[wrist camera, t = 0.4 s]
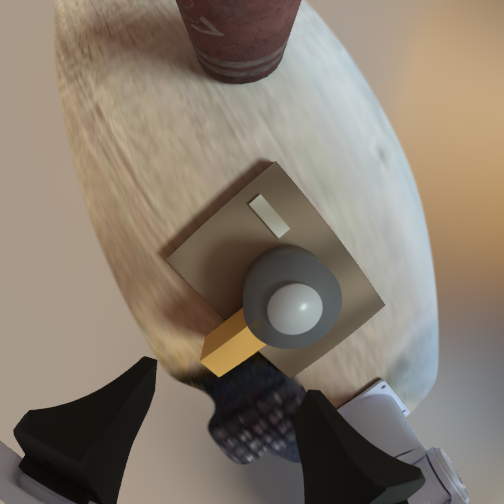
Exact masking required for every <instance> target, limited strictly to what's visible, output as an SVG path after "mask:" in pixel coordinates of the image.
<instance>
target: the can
mask: <svg viewBox="0 0 504 504" xmlns="http://www.w3.org/2000/svg"><path fill="white" fill-rule="evenodd" d="M176 3H177V5H178V8H179V10H180V13H181V15H182V18H183V21H184V23H185V26H186V28H187V31H188V34H189V36H190V39H191V41H192V44H193V47H194V49H195V52H196V55H197V57H198V60H199V62H200V64H201V65H202V67H203V69H204V70H205V71H206V72H207V73H208V74H210V75H211V76H212V77H214V78H215V79H218V80H221V81H224V82H226V83H236V84H244V83H251V82H256V81H258V80H260V79H263V78H265V77H267V76H268V75H269V74H271V73H272V72H273V71H274V70H275V69H276V68H277V67H278V65H279V63H280V61H281V60H282V57H283V54H284V51H285V48H286V45H287V41H288V38H289V35H290V32H291V29H292V26H293V23H294V21H295V18H296V15H297V12H298V9H299V6H300V3H301V0H176Z"/></svg>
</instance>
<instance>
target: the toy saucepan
mask: <svg viewBox="0 0 504 504" xmlns="http://www.w3.org/2000/svg"><path fill="white" fill-rule="evenodd" d="M341 307H342V292H341V288H340V285H339V283H338V280H337V279H336V277H335V276H334V274H333V273H332V272H331V271H330V270H329V269H328V268H327V267H326V266H325V265H324V264H323V263H322V262H321V261H320V260H319V259H318V258H317V257H316V256H315V255H314V254H313V253H312V252H310V251H308V250H306V249H304V248H301V247H297V246H279V247H275V248H272V249H269V250H267V251H266V252H264V253H262V254H261V255H260V256H258V257H257V258H256V259H255V260H254V261H253V262H252V264H251V265H250V267H249V268H248V270H247V272H246V275H245V278H244V283H243V308H241V309H240V310H239V311H238V312H236V313H235V314H234V315H233V316H231V317H230V318H229V319H227V320H226V321H225V322H224V323H222V324H221V325H220V326H219V327H217V328H216V329H215V330H213V331H212V332H211V333H209V334H208V335H207V336H206V337H205V341H204V345H203V349H202V354H201V358H200V362H201V363H202V364H204V365H205V366H206V367H207V368H208V369H210V370H211V371H212V372H213V373H214V374H216V375H217V376H218V377H220V376H222V375H223V374H225V373H226V372H228V371H229V370H231V369H232V368H234V367H235V366H237V365H238V364H240V363H241V362H243V361H244V360H246V359H247V358H248V357H250V356H251V355H253V354H254V353H256V352H257V351H258V350H260V349H261V348H263V347H264V346H265V345H269V346H272V347H275V348H280V349H297V348H302V347H305V346H308V345H311V344H313V343H315V342H316V341H318V340H320V339H321V338H322V337H324V336H325V335H326V334H327V333H328V332H329V331H330V330H331V329H332V327H333V326H334V325H335V323H336V321H337V319H338V317H339V315H340V311H341Z"/></svg>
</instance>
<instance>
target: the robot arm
mask: <svg viewBox="0 0 504 504" xmlns="http://www.w3.org/2000/svg"><path fill="white" fill-rule="evenodd" d="M156 370H157V360H156V359H152V358H149V357H146V356H145V357H142V358H141V359H140V360H139V361H138V362H137V363H136V364H134V365H133V366H132V367H131V368H130V369H128V371H126V372H125V373H123V374H122V375H120V376H119V377H118V378H116V379H115V380H113V381H112V382H110V383H109V384H108V385H106V386H104V387H102V388H101V389H99V390H97V391H95V392H93V393H91V394H89V395H87V396H85V397H82V398H80V399H78V400H75V401H72V402H69V403H66V404H62V405H59V406H55V407H51V408H45V409H37V410H29V411H28V412H27V413H26V414H25V415H24V416H23V418H22V419H21V420H20V422H19V423H18V424H17V426H16V427H15V428H14V430H13V432H14V436H15V438H16V440H17V442H18V443H19V445H20V446H21V448H22V450H23V451H24V453H25V456H24V457H23V459H22V458H21V457H20V456H19V455H18V454H17V453H15V452H14V451H12V450H11V449H10V448H9V447H7V446H6V445H5V444H4V443H2V442H1V441H0V499H1V500H2V501H3V502H4V503H5V504H117V499H118V494H119V490H120V486H121V482H122V478H123V474H124V470H125V467H126V463H127V460H128V456H129V453H130V450H131V447H132V444H133V441H134V440H135V437H136V435H137V433H138V431H139V429H140V427H141V425H142V422H143V420H144V418H145V416H146V414H147V412H148V410H149V407H150V404H151V401H152V398H153V395H154V392H155V382H156ZM408 414H409V410H408V409H407V407H406V406H405V405H404V404H403V402H402V401H401V400H400V399H399V397H398V396H397V395H396V394H395V392H394V391H393V390H392V389H391V387H390V386H389V385H388V384H387V383H386V381H385V380H384V379H381V380H379V381H377V382H376V383H375V384H373V385H372V386H371V387H369V388H368V389H366V390H365V391H364V392H362V393H361V394H359V395H358V396H357V397H355V398H354V399H352V400H351V401H349V402H348V403H346V404H345V405H343V406H342V407H340V408H339V409H337V410H336V409H335V407H334V406H333V405H332V404H331V403H330V402H329V400H328V399H327V398H326V397H325V396H324V394H323V393H322V392H321V391H320V390H309V389H308V391H307V393H306V395H305V397H304V399H303V401H302V403H301V405H300V407H299V409H298V411H297V413H296V414H295V416H294V420H295V435H296V440H297V445H298V450H299V455H300V460H301V464H302V469H303V477H304V495H305V504H469V493H468V491H467V489H466V488H465V486H464V483H463V481H462V478H461V477H460V475H459V473H458V471H457V470H456V468H455V466H454V465H453V463H452V462H451V460H450V459H449V458H448V456H447V455H446V454H445V452H444V451H443V450H442V449H441V448H434V447H432V448H431V449H429V450H428V451H427V450H426V449H425V448H424V446H423V445H422V443H421V441H420V440H419V438H418V436H417V435H416V433H415V431H414V430H413V428H412V426H411V425H410V423H409V422H408V420H407V418H406V416H407V415H408Z"/></svg>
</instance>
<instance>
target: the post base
mask: <svg viewBox="0 0 504 504" xmlns="http://www.w3.org/2000/svg"><path fill="white" fill-rule="evenodd" d="M279 246H297V247H301V248H304V249H306V250H308V251H310V252H312V253H313V254H314V255H315V256H316V257H317V258H318V259H319V260H320V261H321V262H322V263H323V264H324V265H325V266H326V267H327V268H328V269H329V270H330V271H331V272H332V273H333V274H334V276H335V277H336V279H337V280H338V283H339V285H340V288H341V292H342V307H341V311H340V315H339V317H338V319H337V321H336V323H335V325H334V326H333V327H332V329H331V330H330V331H329V332H328V333H327V334H326V335H325V336H324V337H322V338H321V339H320V340H318V341H316V342H315V343H313V344H311V345H308V346H305V347H302V348H297V349H280V348H275V347H272V346H269V345H265V346H264V347H263V348H261V349H260V350H258V351H259V352H260V353H261V354H262V355H263V356H265V357H266V358H267V359H268V360H269V361H270V362H271V363H272V364H274V365H275V366H276V367H277V368H278V369H279V370H281V371H282V372H283V373H284V374H285V375H286V376H287V377H289V378H292V377H293V376H295V375H296V374H298V373H299V372H301V371H302V370H303V369H305V368H306V367H308V366H309V365H311V364H312V363H313V362H315V361H316V360H318V359H319V358H320V357H322V356H323V355H324V354H326V353H327V352H328V351H330V350H331V349H332V348H334V347H335V346H336V345H338V344H339V343H340V342H342V341H343V340H344V339H345V338H347V337H348V336H349V335H351V334H352V333H353V332H354V331H355V330H357V329H358V328H359V327H360V326H362V325H363V324H364V323H365V322H366V321H368V320H369V319H370V318H371V317H372V316H373V315H375V314H376V313H377V312H378V311H379V310H380V309H381V308H383V307H384V306H385V304H384V302H383V301H382V299H381V298H380V296H379V295H378V293H377V292H376V290H375V289H374V287H373V286H372V284H371V283H370V282H369V280H368V279H367V277H366V276H365V274H364V273H363V271H362V270H361V269H360V267H359V266H358V264H357V263H356V262H355V260H354V259H353V257H352V256H351V255H350V253H349V252H348V251H347V249H346V248H345V247H344V245H343V244H342V242H341V241H340V240H339V238H338V237H337V236H336V234H335V233H334V232H333V231H332V229H331V228H330V227H329V225H328V224H327V223H326V221H325V220H324V219H323V218H322V216H321V215H320V214H319V212H318V211H317V210H316V209H315V207H314V206H313V205H312V204H311V202H310V201H309V200H308V199H307V198H306V196H305V195H304V194H303V193H302V191H301V190H300V189H299V188H298V187H297V185H296V184H295V183H294V182H293V181H292V179H291V178H290V177H289V176H288V175H287V174H286V172H285V171H284V170H283V169H282V168H281V167H280V165H279V164H278V163H277V162H276V161H275V162H274V163H273V164H271V165H270V166H269V167H268V168H267V169H266V170H264V171H263V172H262V173H261V174H260V175H258V176H257V177H256V178H255V179H254V180H253V181H251V182H250V183H249V184H248V185H247V186H246V187H244V188H243V189H242V190H241V191H240V192H239V193H238V194H236V195H235V196H234V197H233V198H232V199H231V200H230V201H228V202H227V203H226V204H225V205H224V206H223V207H222V208H221V209H220V210H218V211H217V212H216V213H215V214H214V215H213V216H212V217H211V218H210V219H208V220H207V221H206V222H205V223H204V224H203V225H202V226H201V227H200V228H199V229H198V230H197V231H195V232H194V233H193V234H192V235H191V236H190V237H189V238H188V239H187V240H186V241H185V242H184V243H183V244H182V245H181V246H179V247H178V248H177V249H176V250H175V251H174V252H173V253H172V254H171V255H170V256H169V257H168V258H167V259H166V260H167V261H168V262H169V264H170V265H171V266H172V267H173V268H174V269H175V270H176V271H177V272H178V273H179V274H180V275H181V276H182V277H183V278H184V279H185V280H186V281H187V282H188V283H189V284H190V285H191V287H192V288H193V289H194V290H195V291H196V292H197V293H198V294H199V295H200V296H201V297H202V298H203V299H204V300H205V301H206V302H207V303H208V304H209V305H210V306H211V307H212V308H213V309H214V310H215V311H216V312H218V313H219V314H220V315H221V316H222V317H223V318H224V319H225V320H227V319H229V318H230V317H231V316H233V315H234V314H235V313H236V312H238V311H239V310H240V309H241V308H243V283H244V278H245V275H246V272H247V270H248V268H249V267H250V265H251V264H252V262H253V261H254V260H255V259H256V258H257V257H258V256H260V255H261V254H262V253H264V252H266V251H267V250H269V249H272V248H275V247H279Z"/></svg>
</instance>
